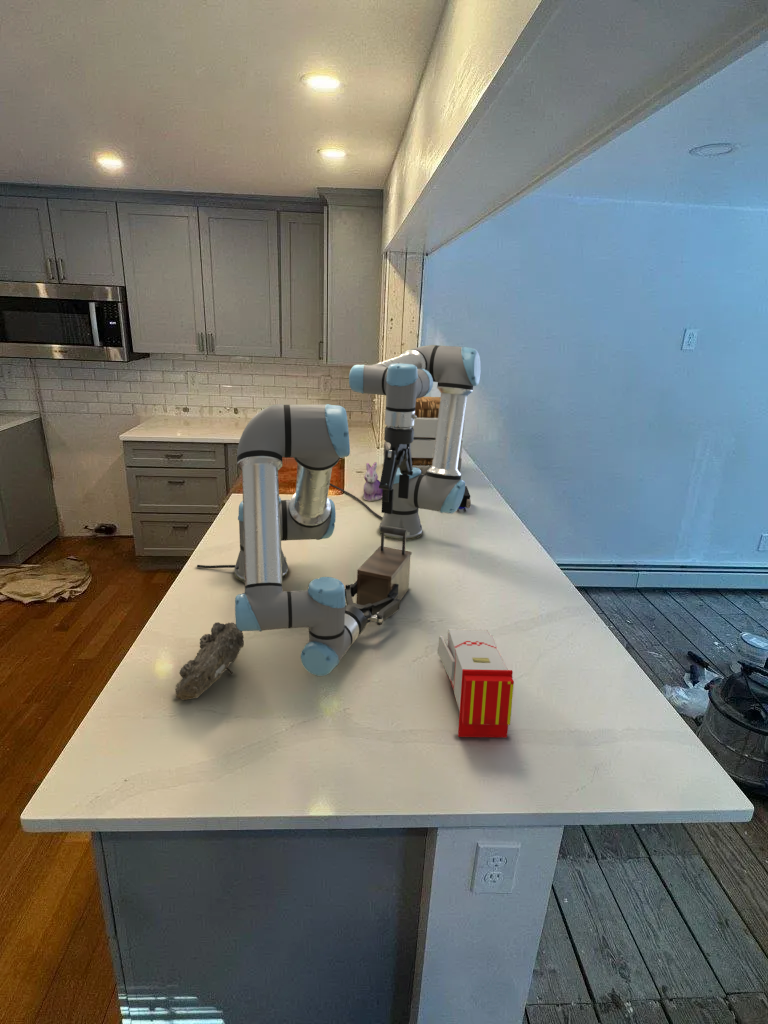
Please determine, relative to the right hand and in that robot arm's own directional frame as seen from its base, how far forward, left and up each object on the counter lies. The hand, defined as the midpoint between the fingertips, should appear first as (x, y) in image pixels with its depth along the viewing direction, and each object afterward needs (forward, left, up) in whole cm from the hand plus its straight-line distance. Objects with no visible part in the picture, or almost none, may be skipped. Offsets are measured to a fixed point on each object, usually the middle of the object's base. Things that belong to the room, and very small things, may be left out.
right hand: (395, 505), depth 152 cm
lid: (+3, -5, -15) cm, 16 cm away
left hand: (+5, -9, -19) cm, 22 cm away
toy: (+44, -17, -25) cm, 54 cm away
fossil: (+6, -56, -25) cm, 61 cm away
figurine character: (-37, +69, -25) cm, 82 cm away
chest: (+3, -5, -25) cm, 26 cm away
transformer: (-82, +91, -25) cm, 125 cm away
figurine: (-66, +47, -25) cm, 85 cm away
